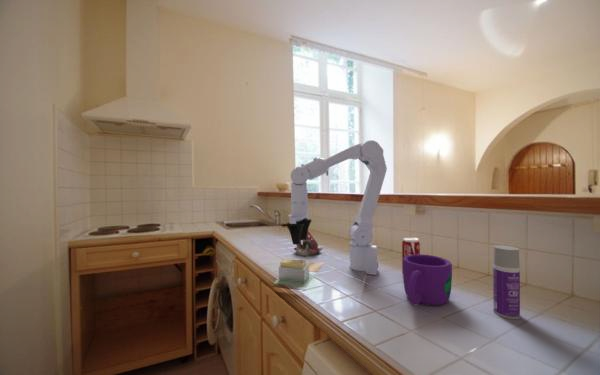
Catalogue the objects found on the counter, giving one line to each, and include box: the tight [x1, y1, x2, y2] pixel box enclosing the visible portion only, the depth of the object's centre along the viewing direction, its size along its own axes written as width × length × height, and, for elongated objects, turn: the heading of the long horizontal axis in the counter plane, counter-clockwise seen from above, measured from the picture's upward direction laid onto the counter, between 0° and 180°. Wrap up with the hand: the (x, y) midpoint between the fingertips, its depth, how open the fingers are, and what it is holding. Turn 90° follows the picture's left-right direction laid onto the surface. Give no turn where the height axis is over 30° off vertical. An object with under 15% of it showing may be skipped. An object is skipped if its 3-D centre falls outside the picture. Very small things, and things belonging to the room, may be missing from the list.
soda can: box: [401, 237, 421, 275], centre depth 82 cm, size 5×5×12 cm
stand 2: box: [307, 261, 325, 273], centre depth 90 cm, size 10×10×1 cm
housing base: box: [278, 264, 310, 283], centre depth 78 cm, size 5×8×4 cm, turn 72°
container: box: [492, 244, 521, 320], centre depth 58 cm, size 5×5×15 cm
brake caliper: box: [293, 230, 324, 257], centre depth 109 cm, size 11×11×12 cm
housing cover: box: [279, 258, 308, 269], centre depth 78 cm, size 4×7×1 cm, turn 69°
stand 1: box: [273, 274, 316, 291], centre depth 78 cm, size 10×10×1 cm
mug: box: [402, 253, 453, 307], centre depth 64 cm, size 17×11×10 cm, turn 138°
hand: (299, 241), depth 89 cm, fingers open, 7 cm apart
